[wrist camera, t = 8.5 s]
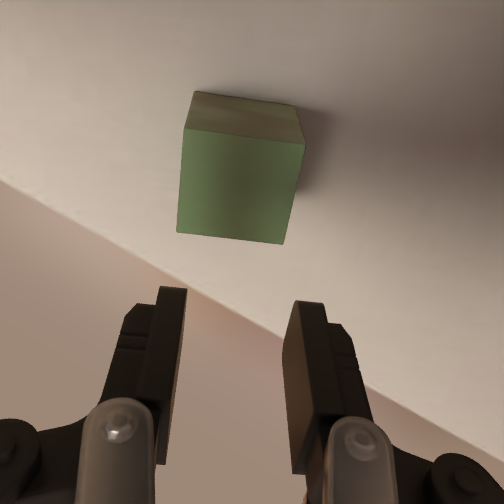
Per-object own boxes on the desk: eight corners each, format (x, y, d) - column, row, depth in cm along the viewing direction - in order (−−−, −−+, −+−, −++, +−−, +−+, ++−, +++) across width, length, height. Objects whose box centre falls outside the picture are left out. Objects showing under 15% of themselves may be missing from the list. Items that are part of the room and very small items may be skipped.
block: (186, 183, 24) (176, 232, 20) (194, 90, 21) (183, 127, 18) (276, 194, 24) (283, 245, 21) (295, 106, 22) (306, 144, 18)
